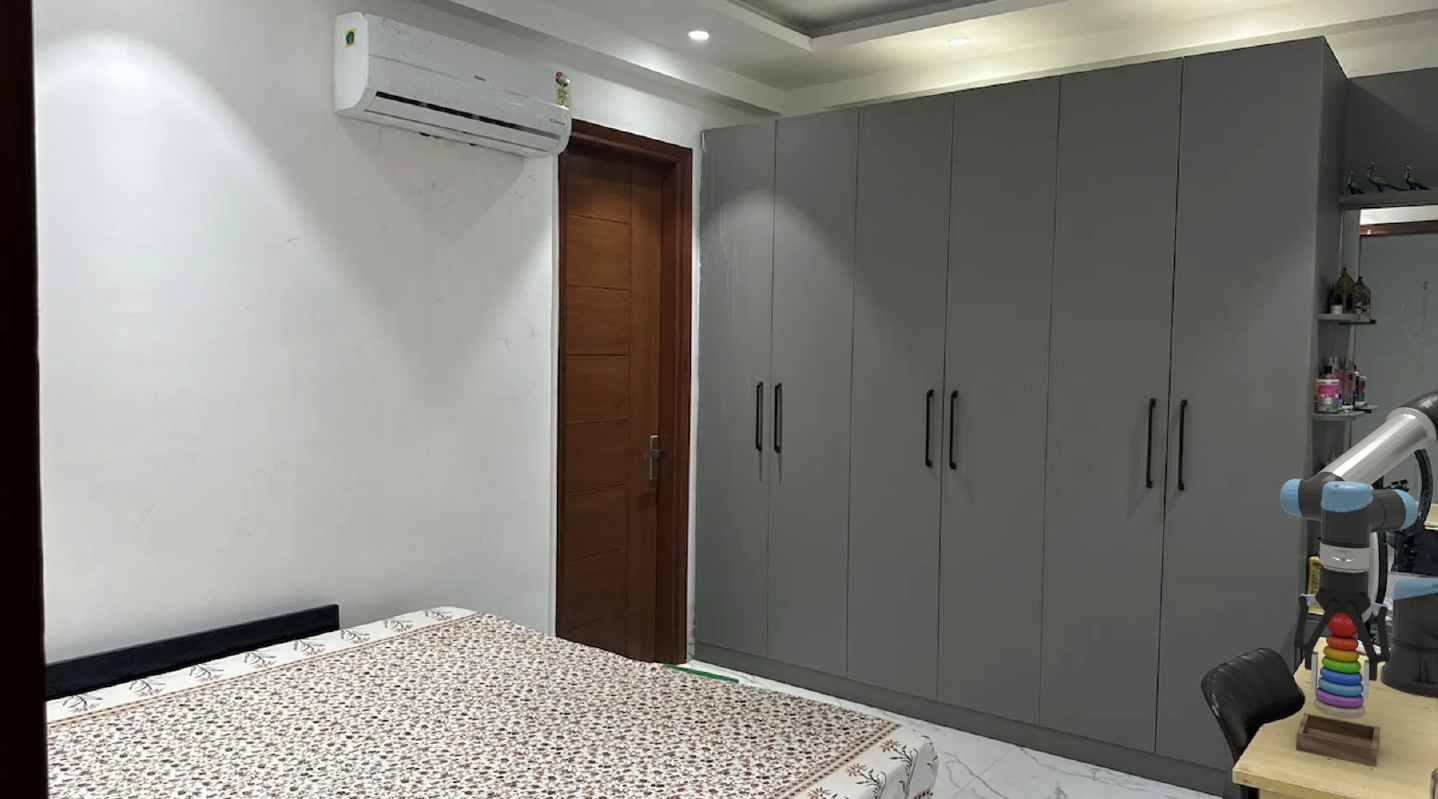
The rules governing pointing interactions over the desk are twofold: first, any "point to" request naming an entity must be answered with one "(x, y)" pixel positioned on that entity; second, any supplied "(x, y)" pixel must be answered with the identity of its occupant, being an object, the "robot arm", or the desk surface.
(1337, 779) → the desk surface
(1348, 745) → the walnut open square tray
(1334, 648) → the stacking toy
